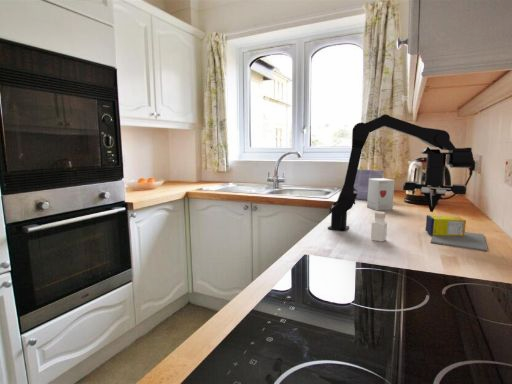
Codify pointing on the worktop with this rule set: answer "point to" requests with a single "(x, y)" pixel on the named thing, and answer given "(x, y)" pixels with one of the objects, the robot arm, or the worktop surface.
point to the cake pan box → (365, 182)
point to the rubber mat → (462, 241)
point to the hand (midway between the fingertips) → (431, 211)
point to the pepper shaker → (379, 227)
